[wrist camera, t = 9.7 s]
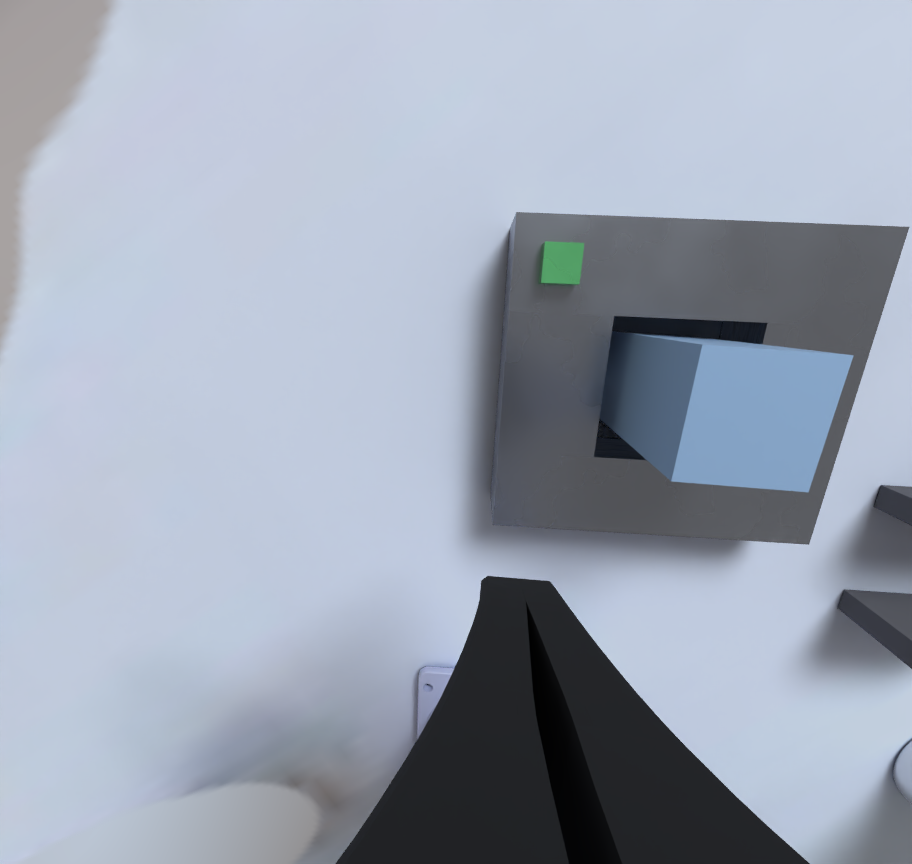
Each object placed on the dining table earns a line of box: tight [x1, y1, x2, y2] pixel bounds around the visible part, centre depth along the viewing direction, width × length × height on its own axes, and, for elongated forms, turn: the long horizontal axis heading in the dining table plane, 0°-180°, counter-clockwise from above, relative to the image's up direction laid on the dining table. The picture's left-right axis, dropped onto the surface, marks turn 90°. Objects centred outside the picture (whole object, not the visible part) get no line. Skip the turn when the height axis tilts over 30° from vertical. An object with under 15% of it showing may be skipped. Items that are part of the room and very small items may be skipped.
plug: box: [599, 331, 854, 492], centre depth 14 cm, size 4×4×7 cm
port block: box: [491, 212, 909, 544], centre depth 16 cm, size 11×12×3 cm
